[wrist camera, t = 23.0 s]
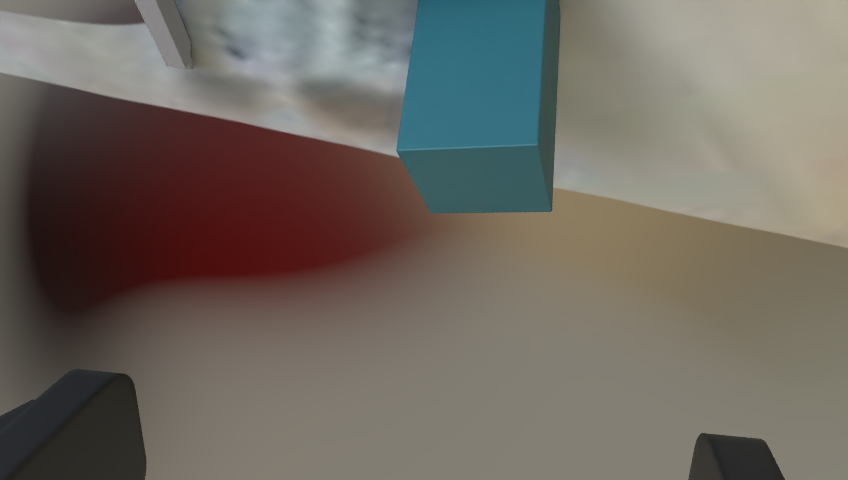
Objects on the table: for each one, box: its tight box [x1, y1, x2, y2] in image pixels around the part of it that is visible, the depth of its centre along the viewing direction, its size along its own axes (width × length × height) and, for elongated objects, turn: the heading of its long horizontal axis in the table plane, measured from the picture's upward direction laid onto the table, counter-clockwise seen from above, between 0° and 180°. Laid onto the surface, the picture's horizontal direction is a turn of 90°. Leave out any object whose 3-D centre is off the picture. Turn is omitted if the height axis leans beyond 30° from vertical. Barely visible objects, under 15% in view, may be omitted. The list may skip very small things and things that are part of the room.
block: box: [396, 0, 560, 213], centre depth 28 cm, size 5×5×10 cm
